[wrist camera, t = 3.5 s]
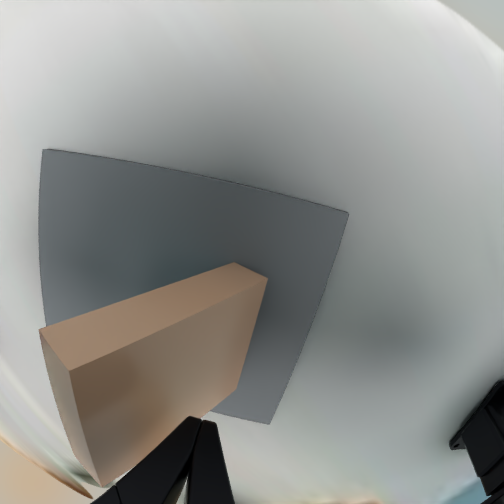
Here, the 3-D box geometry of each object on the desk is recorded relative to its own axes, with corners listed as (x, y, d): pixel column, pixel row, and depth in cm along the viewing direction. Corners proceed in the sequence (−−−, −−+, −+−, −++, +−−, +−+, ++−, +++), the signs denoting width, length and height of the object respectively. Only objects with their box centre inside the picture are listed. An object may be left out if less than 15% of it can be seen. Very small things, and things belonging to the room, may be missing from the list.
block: (268, 278, 12) (68, 370, 5) (236, 389, 14) (102, 487, 7) (231, 260, 13) (36, 325, 6) (207, 370, 15) (72, 453, 8)
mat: (347, 212, 12) (349, 214, 11) (269, 419, 16) (269, 424, 15) (47, 149, 12) (42, 149, 12) (53, 346, 16) (50, 349, 16)
